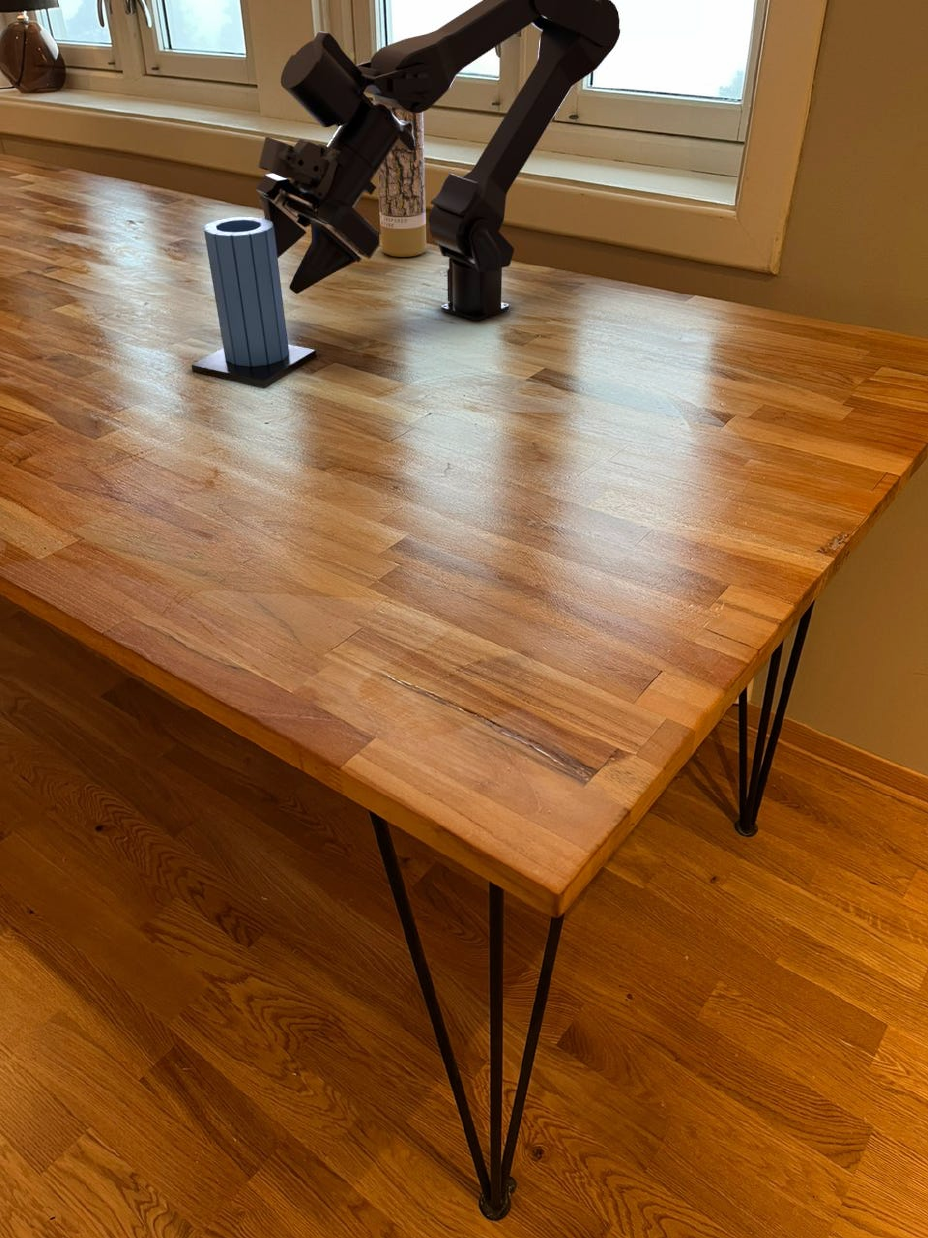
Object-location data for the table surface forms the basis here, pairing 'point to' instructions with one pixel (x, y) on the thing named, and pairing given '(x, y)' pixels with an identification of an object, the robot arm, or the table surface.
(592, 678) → the table surface
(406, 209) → the paper tube
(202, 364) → the peg stand
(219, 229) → the blue fluted tube
